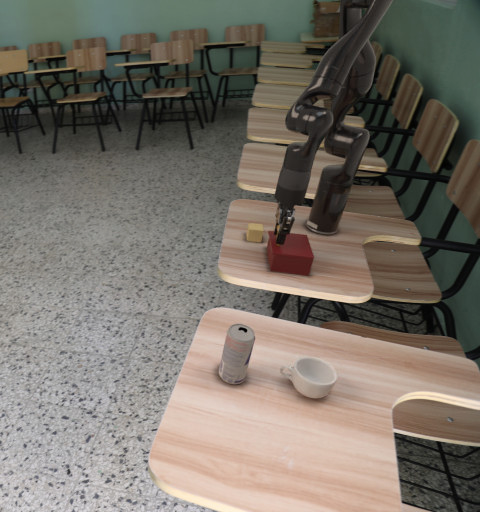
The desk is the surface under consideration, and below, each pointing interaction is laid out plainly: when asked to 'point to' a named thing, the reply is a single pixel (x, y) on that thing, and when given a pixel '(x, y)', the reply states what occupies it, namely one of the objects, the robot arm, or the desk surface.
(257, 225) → the tan cube
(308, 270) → the red cubby box
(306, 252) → the cover
